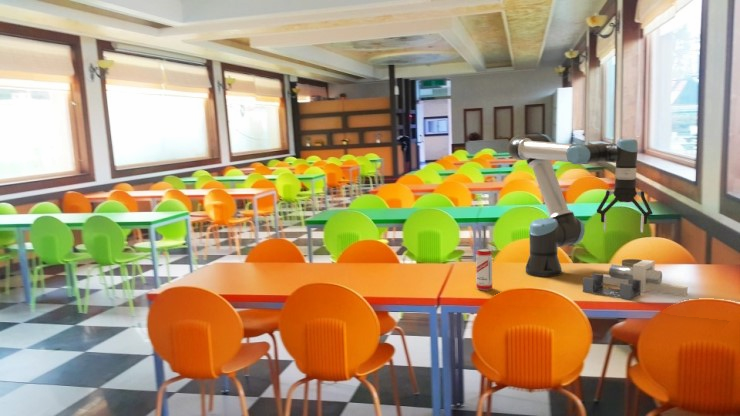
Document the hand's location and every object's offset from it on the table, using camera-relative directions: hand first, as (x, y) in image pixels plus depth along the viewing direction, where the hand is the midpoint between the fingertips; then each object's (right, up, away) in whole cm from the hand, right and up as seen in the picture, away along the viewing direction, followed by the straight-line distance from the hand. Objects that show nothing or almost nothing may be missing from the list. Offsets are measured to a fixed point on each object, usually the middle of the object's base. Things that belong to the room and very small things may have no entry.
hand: (623, 231), depth 224 cm
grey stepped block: (+4, -22, -8) cm, 24 cm away
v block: (-10, -23, -12) cm, 28 cm away
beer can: (-55, -23, +1) cm, 60 cm away
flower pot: (+8, -20, +7) cm, 23 cm away
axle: (+2, -16, -7) cm, 18 cm away
